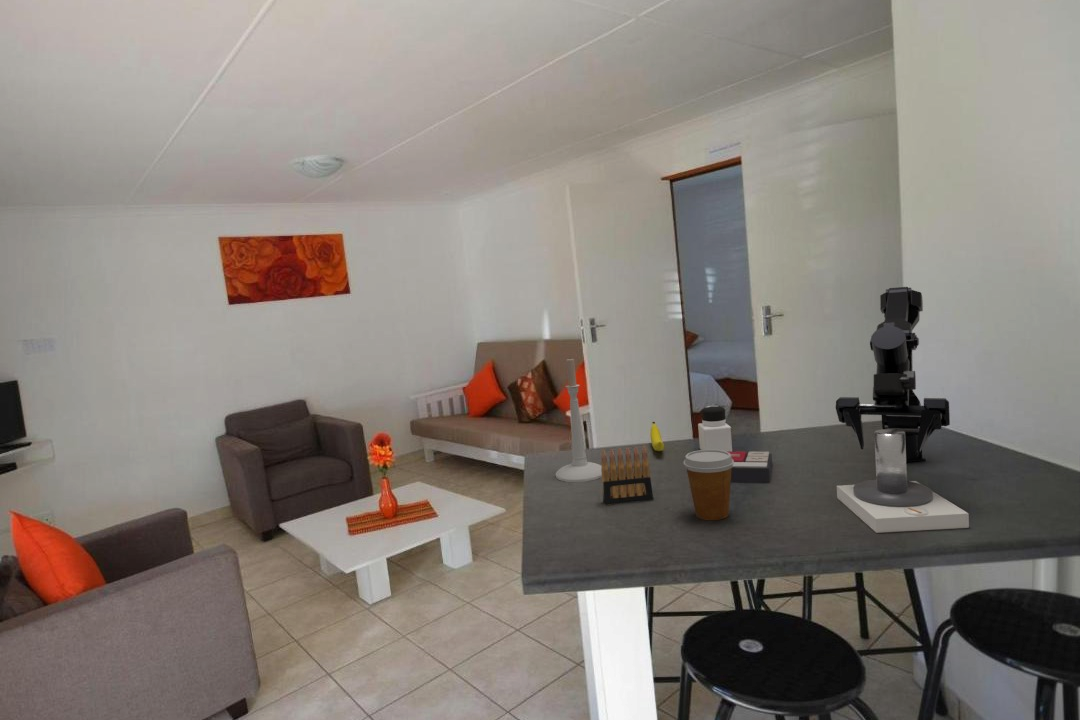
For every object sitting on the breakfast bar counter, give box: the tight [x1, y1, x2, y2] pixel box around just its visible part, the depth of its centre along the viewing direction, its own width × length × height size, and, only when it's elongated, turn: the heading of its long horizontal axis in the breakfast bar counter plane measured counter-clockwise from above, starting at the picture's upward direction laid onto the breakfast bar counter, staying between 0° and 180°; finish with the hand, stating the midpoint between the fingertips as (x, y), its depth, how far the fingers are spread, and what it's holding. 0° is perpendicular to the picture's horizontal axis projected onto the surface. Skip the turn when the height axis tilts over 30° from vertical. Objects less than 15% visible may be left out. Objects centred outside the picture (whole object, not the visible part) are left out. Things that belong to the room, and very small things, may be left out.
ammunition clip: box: [600, 444, 654, 506], centre depth 135 cm, size 11×2×12 cm, turn 91°
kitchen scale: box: [836, 478, 970, 534], centre depth 115 cm, size 15×18×4 cm
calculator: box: [728, 451, 773, 484], centre depth 147 cm, size 11×4×15 cm
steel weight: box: [873, 429, 908, 494], centre depth 117 cm, size 5×5×11 cm
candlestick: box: [555, 358, 602, 483], centre depth 157 cm, size 13×13×30 cm
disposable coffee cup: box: [683, 449, 734, 521], centre depth 122 cm, size 10×10×12 cm
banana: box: [650, 421, 665, 452], centre depth 173 cm, size 3×19×6 cm, turn 175°
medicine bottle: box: [697, 405, 734, 452], centre depth 167 cm, size 7×7×12 cm
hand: (889, 449), depth 115 cm, fingers open, 9 cm apart
